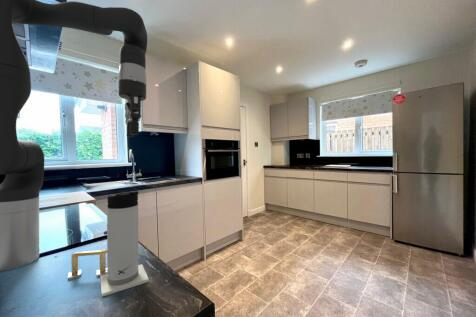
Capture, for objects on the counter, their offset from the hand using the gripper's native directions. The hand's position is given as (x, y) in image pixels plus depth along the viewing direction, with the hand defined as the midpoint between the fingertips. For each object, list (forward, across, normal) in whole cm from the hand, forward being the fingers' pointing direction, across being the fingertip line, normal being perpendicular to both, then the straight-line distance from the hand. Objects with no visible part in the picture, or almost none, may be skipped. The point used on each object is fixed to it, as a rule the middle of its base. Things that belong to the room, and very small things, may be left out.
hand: (132, 135), depth 63 cm
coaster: (+35, +16, -3) cm, 39 cm away
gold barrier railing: (+35, +9, -8) cm, 37 cm away
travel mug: (+35, +16, -3) cm, 38 cm away
